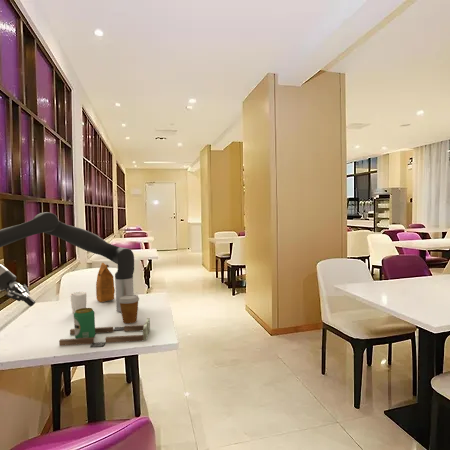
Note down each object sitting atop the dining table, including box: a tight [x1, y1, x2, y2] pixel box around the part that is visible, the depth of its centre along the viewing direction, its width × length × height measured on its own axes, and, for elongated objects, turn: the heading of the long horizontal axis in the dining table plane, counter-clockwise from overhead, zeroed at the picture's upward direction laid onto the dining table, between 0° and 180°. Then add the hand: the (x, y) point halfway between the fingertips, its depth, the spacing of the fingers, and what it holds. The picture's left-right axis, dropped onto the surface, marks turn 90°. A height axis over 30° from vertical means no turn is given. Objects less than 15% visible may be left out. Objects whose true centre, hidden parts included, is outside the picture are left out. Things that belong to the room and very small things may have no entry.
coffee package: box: [95, 262, 116, 303], centre depth 214 cm, size 10×12×22 cm
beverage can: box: [73, 307, 96, 339], centre depth 151 cm, size 8×8×12 cm
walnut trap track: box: [58, 317, 151, 348], centre depth 152 cm, size 22×34×5 cm, turn 95°
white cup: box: [69, 291, 87, 315], centre depth 190 cm, size 8×8×10 cm
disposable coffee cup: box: [119, 294, 140, 325], centre depth 171 cm, size 10×10×12 cm
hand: (33, 304), depth 149 cm, fingers closed
